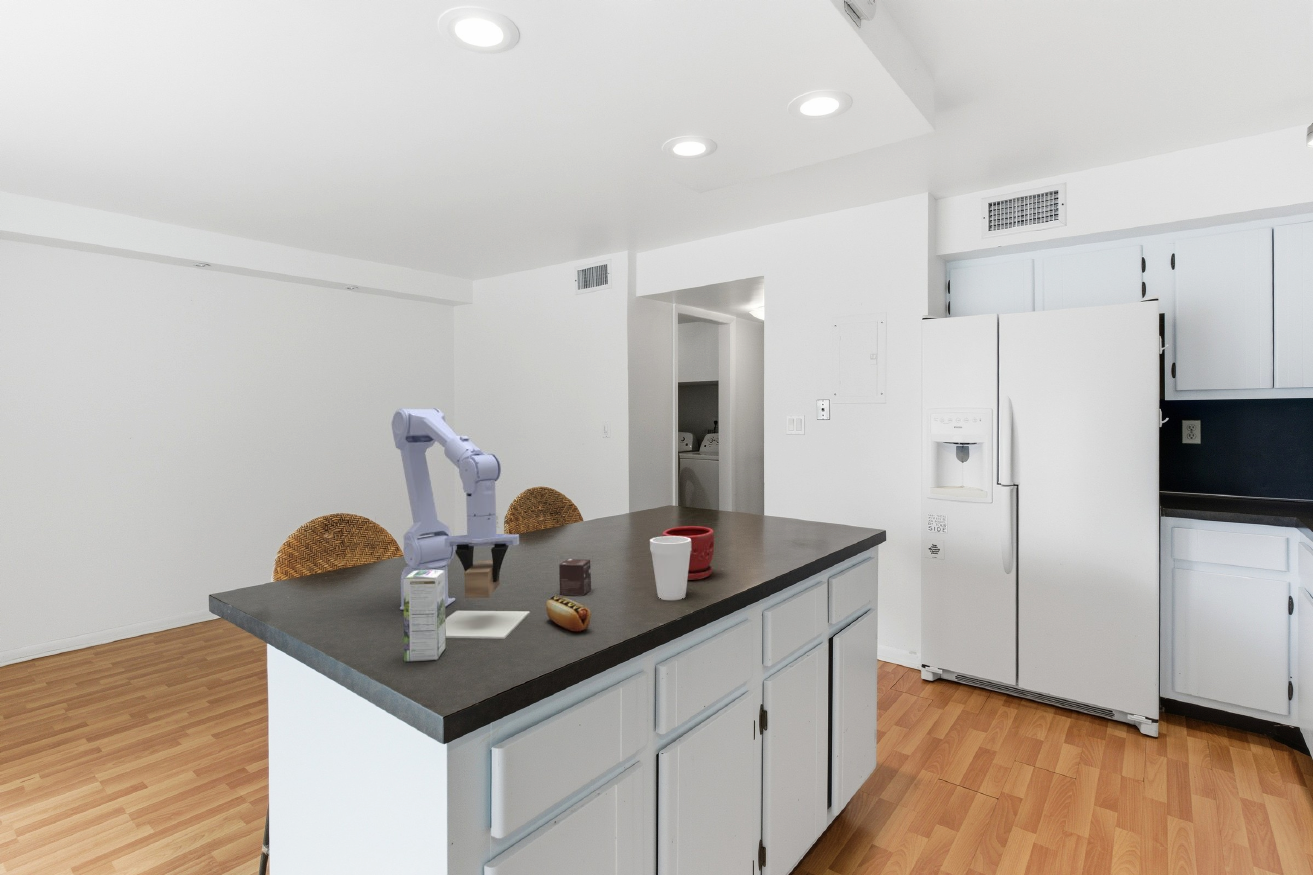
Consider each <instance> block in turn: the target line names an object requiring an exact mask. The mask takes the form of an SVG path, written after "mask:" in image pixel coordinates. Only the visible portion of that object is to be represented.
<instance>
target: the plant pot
mask: <svg viewBox="0 0 1313 875" xmlns="http://www.w3.org/2000/svg"><path fill="white" fill-rule="evenodd" d="M664 536H680V537H687V538H690V539H691V551H690V559H689V569H688V578H687V581H693V580H695V581H696V580H703V579H704V578H708V577H709V576H710V575H711V574H712V573H713V567H712V566H710V565H711V563H712V560H713V556H714V550H715V532H714V530H713V529H712V528H710V527H705V526H695V525H693V526H691V525H690V526H688V525H687V526H676V527H671V528H668V529H666V530H664V531H663V532H662V537H664Z"/></svg>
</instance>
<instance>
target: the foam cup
mask: <svg viewBox="0 0 1313 875" xmlns="http://www.w3.org/2000/svg"><path fill="white" fill-rule="evenodd" d="M649 550H650V553H651V557H652V558H651V560H652V566H653V571H654V580H655V585H656V593H657V594H656V595H657V598H658V597H659V598H658V599H660V598H661V599H660V600H664V601H678V600H682V598H683V599H684V598H686V594H687V584H688V580H687V578H688V569H689V559H690V551H691V539H690V538H687V537H680V536H664V537H663V536H657V537H656V536H655V537H652V538H650V539H649Z"/></svg>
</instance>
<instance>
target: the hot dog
mask: <svg viewBox="0 0 1313 875" xmlns="http://www.w3.org/2000/svg"><path fill="white" fill-rule="evenodd" d="M545 611H546V614H547V616H548V618H549V619H550V620H551V621H552V622H554V623H555V624H556V625H558V626H560V627H562V628H563V629H566V630H569V631H572V632H582V631H583V630H586V629H588V627H589V626H590V622H591V615H592V613H591V610H590V609H589V608H588V607H586V606H585V605H583V604H581V603H579V602H578V601H575V600H572V599H570V598H568V597H565V596H562V597H559V596H558V595H557V596H556V595H553V596H552V597H550V599H548V600H546V603H545Z"/></svg>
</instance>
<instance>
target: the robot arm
mask: <svg viewBox="0 0 1313 875" xmlns="http://www.w3.org/2000/svg"><path fill="white" fill-rule="evenodd" d="M391 430H392V435H393V440H394V446H395V448H396V449H398V450H399V451H400V456H401V461H402V462H401V463H402V467H403V472H404V473H403V474H404V478H405V483H406V490H407V494H408V501H409V505H410V511H411V516H412V521H413V525H411V527H409V529H408V530H407V531H406V532H405V533H404V535H403V537H402V538H403V557H404V561H405V562H406V564H407V566H405V567H404V568H403V570H402V572H401V576H400V600H401V602H400V603H401V606H400V607H399V609H400V610H402V611H404V589H403V580H404V578H406V577H407V576H408V575H409V574H411V573H412V572H413V571H418V570H443V571H445V608H446V607H448V606H449V605H451V604H452V603H453V602H455V601H456V598H455V597H449V583H448V582H449V580H448V577H449V576H448V565H450V564H451V560H452V559H453V558H454V556H455V555H456V556H457V558H458V559H459V562H460V563H461V565H462V567H463V571H464V572H466V571H467V570H468V569H469V568H470V567H471V566H473V565H474V552H475V551H474V550H475V549H474V548H475V547H478V546H479V547H480V546H493V547H491V549H490V553H491V558H492V560H491V561H493V582H497V581H498V580H499V574H501V573H500V572H501V569H502V564H503V561H504V558H505V556H506V553H507V551H508V549H509V546H512V547H515V546H518V545H519V544H520V534H518V533H517V534H508V533H507V534H505V533H498V532H497V510H496V509H497V508H496V507H497V504H496V499H497V498H496V482H497V481H498V480H499V479H500V477H501V475H502V474H501V472H502V466H501V462H500V460H499V458H498V457H497V455H496V454H495V453H484V452H483V451H482V449H480V448H479V447H478V446H476V445H475V444H474V443H473V442H472V441H471V440H470V438H469V437H468V435H457V434H456V433H455V431H453V429H452V428H451V426H449V425H448V424H447V422H446V417H445V413H443V412H442V410H440V409H439V408H427V409H426V408H398V409H397V410H396V411H395V413H394V414H393V416H392V420H391ZM436 442H437V443H438V444H439V445H440V446H441V447H443V448H444V450H443V452H444V455H445V457H446V459H448V460H449V461H450V462H451V463H452V464H453V465H454V466H456V468H457V469H458V473H459V478H460V480H461V482H462V489H463V492H464V493H465V495H466V498H465V501H466V532H467V533H466V534H464V535H463V534H461V535H460V534H459V535H452V533H451V531H450V530H451V529H450V526H449V525H447V524H445V523H444V522H443V521H440V520H439V519H438V514H437V509H436V508H437V507H436V503H435V498H434V492H433V488H432V482H431V478H430V477H431V476H430V473H429V472H430V471H429V466H428V460H427V457H426V456H427V455H426V452H427V450H428V449H430V448H431V447H433V446H434V445H435V444H436Z"/></svg>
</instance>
